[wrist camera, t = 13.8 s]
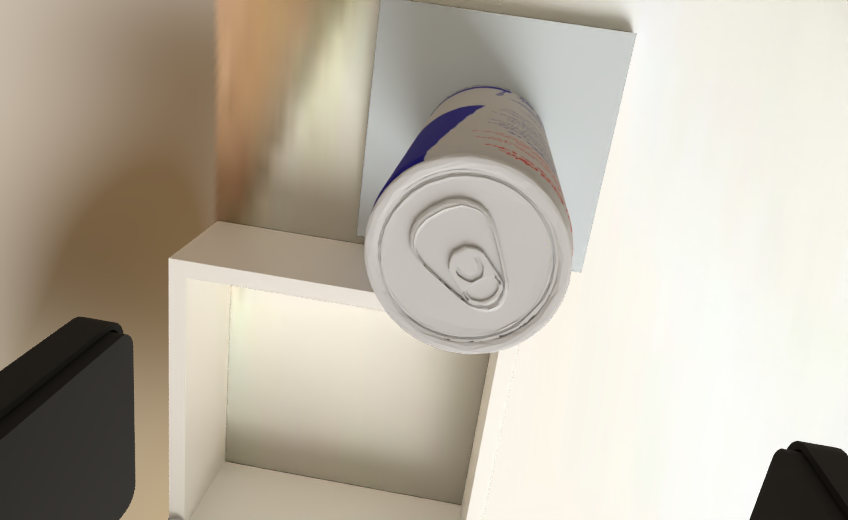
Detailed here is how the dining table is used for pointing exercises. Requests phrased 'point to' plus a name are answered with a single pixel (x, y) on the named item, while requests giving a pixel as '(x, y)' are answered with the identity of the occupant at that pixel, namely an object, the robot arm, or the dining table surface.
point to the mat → (505, 67)
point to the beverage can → (472, 227)
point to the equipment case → (208, 381)
